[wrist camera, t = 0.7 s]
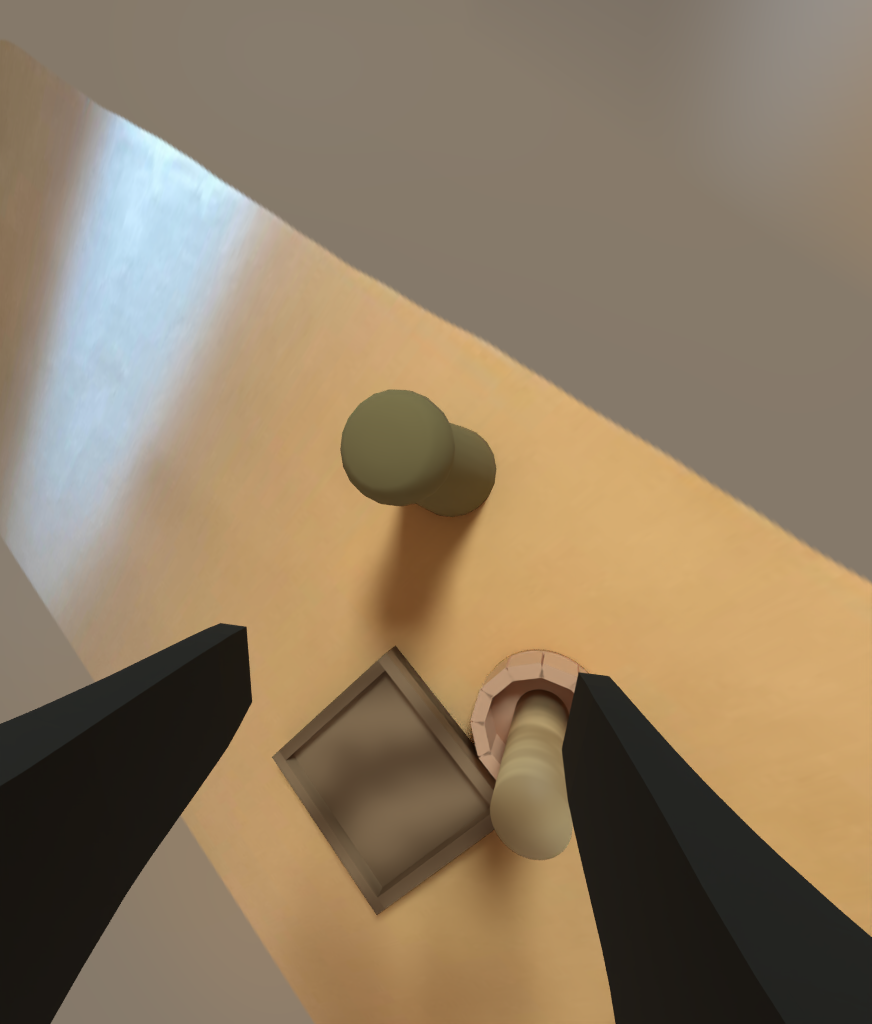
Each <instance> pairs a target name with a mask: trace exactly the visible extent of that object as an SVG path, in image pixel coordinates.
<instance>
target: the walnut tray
mask: <svg viewBox="0 0 872 1024" xmlns="http://www.w3.org/2000/svg"><path fill="white" fill-rule="evenodd" d="M272 758H273V759H274V761H275V762H276V764H277V765H278V767H279V768H280V770H281V771H282V773H283V774H284V776H285V777H286V779H287V780H288V782H289V784H290V785H291V787H292V788H293V790H294V791H295V793H296V794H297V796H298V797H299V799H300V800H301V802H302V803H303V805H304V806H305V808H306V809H307V811H308V812H309V814H310V815H311V817H312V818H313V820H314V821H315V823H316V824H317V826H318V827H319V829H320V830H321V832H322V833H323V835H324V836H325V838H326V839H327V841H328V842H329V844H330V845H331V847H332V848H333V850H334V851H335V853H336V854H337V856H338V857H339V859H340V860H341V862H342V863H343V865H344V866H345V868H346V869H347V871H348V873H349V874H350V876H351V877H352V879H353V880H354V882H355V883H356V885H357V886H358V888H359V889H360V891H361V892H362V894H363V895H364V897H365V898H366V900H367V901H368V903H369V904H370V906H371V907H372V909H373V910H374V912H375V913H376V915H378V914H379V913H381V912H382V911H383V910H385V909H386V908H387V907H389V906H390V905H392V904H393V903H394V902H396V901H397V900H398V899H400V898H401V897H403V896H404V895H405V894H407V893H408V892H409V891H411V890H412V889H414V888H415V887H416V886H418V885H419V884H420V883H422V882H423V881H424V880H426V879H427V878H429V877H430V876H431V875H433V874H434V873H435V872H437V871H438V870H440V869H441V868H442V867H444V866H445V865H446V864H448V863H449V862H451V861H452V860H453V859H455V858H456V857H457V856H459V855H460V854H462V853H463V852H464V851H466V850H467V849H468V848H470V847H471V846H472V845H474V844H475V843H477V842H478V841H479V840H481V839H482V838H483V837H485V836H486V835H488V834H489V833H490V832H492V831H493V830H494V827H493V824H492V821H491V816H490V803H491V799H492V795H493V792H494V788H495V784H496V779H495V778H494V777H493V776H492V774H491V773H490V772H489V771H488V769H487V768H486V767H485V765H484V764H483V763H482V762H481V760H480V759H479V756H478V755H477V750H476V747H475V746H474V744H473V743H472V742H471V741H470V739H469V738H468V737H467V736H466V734H465V733H464V732H463V730H462V729H461V728H460V727H459V725H458V724H457V723H456V722H455V720H454V719H453V718H452V717H451V715H450V714H449V713H448V712H447V710H446V709H445V708H444V706H443V705H442V704H441V703H440V701H439V700H438V699H437V698H436V696H435V695H434V694H433V693H432V691H431V690H430V689H429V688H428V686H427V685H426V684H425V682H424V681H423V680H422V679H421V677H420V676H419V675H418V674H417V672H416V671H415V670H414V669H413V667H412V666H411V665H410V663H409V662H408V661H407V660H406V658H405V657H404V656H403V655H402V653H401V652H400V651H399V650H398V648H397V647H396V646H395V647H393V648H392V649H391V650H389V651H388V652H386V653H385V654H384V655H383V656H382V657H381V658H380V659H379V660H378V661H377V662H375V663H374V664H373V665H372V666H371V667H370V668H369V669H368V670H367V671H366V672H365V673H363V674H362V675H361V676H360V677H359V678H358V679H357V680H356V681H355V682H354V683H352V684H351V685H350V686H349V687H348V688H347V689H346V690H345V691H344V692H343V693H342V694H340V695H339V696H338V697H337V698H336V699H335V700H334V701H333V702H332V703H331V704H329V705H328V706H327V707H326V708H325V709H324V710H323V711H322V712H321V713H320V714H319V715H317V716H316V717H315V718H314V719H313V720H312V721H311V722H310V723H309V724H308V725H307V726H305V727H304V728H303V729H302V730H301V731H300V732H299V733H298V734H297V735H296V736H294V737H293V738H292V739H291V740H290V741H289V742H288V743H287V744H286V745H285V746H284V747H282V748H281V749H280V750H279V751H278V752H277V753H276V754H275V755H274V756H273V757H272Z"/></svg>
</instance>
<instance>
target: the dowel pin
mask: <svg viewBox="0 0 872 1024" xmlns="http://www.w3.org/2000/svg"><path fill="white" fill-rule="evenodd" d="M568 718H569V712H568V709H567V707H566V705H565V704H564V702H563V701H562V700H561V699H560V698H559V697H558V696H557V695H555V694H554V693H552V692H550V691H547V690H543V689H535V690H531V691H528V692H526V693H525V694H523V695H522V696H521V697H520V698H519V700H518V702H517V704H516V708H515V711H514V715H513V719H512V723H511V727H510V730H509V734H508V738H507V742H506V746H505V750H504V753H503V757H502V761H501V765H500V769H499V772H498V776H497V780H496V784H495V788H494V792H493V795H492V799H491V803H490V816H491V821H492V824H493V827H494V829H495V831H496V833H497V835H498V836H499V838H500V839H501V840H502V842H503V843H504V844H505V845H506V846H507V847H508V848H509V849H511V850H512V851H513V852H515V853H517V854H518V855H520V856H523V857H525V858H528V859H533V860H547V859H551V858H553V857H555V856H557V855H559V854H560V853H561V852H563V851H564V849H565V848H566V847H567V845H568V844H569V841H570V839H571V835H572V818H571V813H570V809H569V804H568V798H567V790H566V782H565V774H564V765H563V757H562V745H563V740H564V736H565V731H566V727H567V722H568Z"/></svg>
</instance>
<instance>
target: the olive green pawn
mask: <svg viewBox="0 0 872 1024" xmlns="http://www.w3.org/2000/svg"><path fill="white" fill-rule="evenodd" d="M341 456H342V462H343V467H344V469H345V471H346V473H347V476H348V478H349V480H350V482H351V483H352V484H353V485H354V486H355V487H356V488H357V489H358V490H359V491H360V492H361V493H362V494H363V495H365V496H366V497H368V498H370V499H372V500H374V501H376V502H378V503H380V504H386V505H394V506H405V505H410V504H415V503H416V504H418V505H420V506H422V507H424V508H426V509H427V510H429V511H432V512H434V513H436V514H438V515H442V516H450V517H454V516H459V515H464V514H467V513H469V512H471V511H472V510H474V509H476V508H478V507H479V506H480V505H481V504H482V503H483V502H484V501H485V499H486V498H487V497H488V496H489V494H490V492H491V490H492V487H493V485H494V483H495V475H496V464H495V459H494V454H493V452H492V451H491V449H490V447H489V445H488V444H487V442H486V441H485V440H484V439H483V438H482V437H481V436H479V435H478V434H477V433H476V432H473V431H471V430H469V429H466V428H464V427H461V426H458V425H455V424H452V423H449V422H448V420H447V418H446V416H445V414H444V413H443V412H442V411H441V410H440V409H439V408H438V407H437V406H436V405H435V404H434V403H433V402H432V401H430V400H429V399H428V398H427V397H425V396H422V395H420V394H417V393H415V392H413V391H408V390H386V391H383V392H380V393H376V394H373V395H372V396H371V397H369V398H368V399H366V400H365V401H363V402H362V403H360V404H359V406H358V407H357V408H356V409H355V410H354V412H353V413H352V414H351V415H350V417H349V418H348V420H347V423H346V425H345V428H344V430H343V432H342V441H341Z"/></svg>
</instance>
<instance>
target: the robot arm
mask: <svg viewBox="0 0 872 1024" xmlns="http://www.w3.org/2000/svg"><path fill="white" fill-rule="evenodd" d="M251 703H252V694H251V681H250V667H249V654H248V641H247V628H246V627H244V626H237V625H229V624H222V623H220V624H217V625H215V626H213V627H210V628H208V629H206V630H203V631H201V632H199V633H197V634H195V635H193V636H190V637H188V638H186V639H184V640H182V641H180V642H178V643H176V644H174V645H172V646H170V647H168V648H166V649H164V650H162V651H160V652H158V653H156V654H153V655H151V656H149V657H147V658H145V659H143V660H141V661H139V662H137V663H135V664H133V665H131V666H129V667H127V668H125V669H123V670H121V671H118V672H116V673H114V674H112V675H110V676H108V677H106V678H104V679H102V680H99V681H97V682H95V683H93V684H91V685H89V686H86V687H84V688H82V689H79V690H77V691H75V692H73V693H71V694H68V695H66V696H64V697H62V698H60V699H57V700H55V701H53V702H51V703H49V704H46V705H44V706H42V707H40V708H37V709H35V710H33V711H30V712H28V713H26V714H23V715H21V716H19V717H16V718H14V719H11V720H9V721H6V722H4V723H1V724H0V1024H50V1023H51V1022H52V1020H53V1018H54V1016H55V1015H56V1013H57V1011H58V1009H59V1008H60V1006H61V1004H62V1002H63V1001H64V999H65V997H66V995H67V994H68V992H69V990H70V988H71V987H72V985H73V983H74V981H75V980H76V978H77V976H78V974H79V973H80V971H81V969H82V967H83V966H84V964H85V962H86V961H87V959H88V957H89V956H90V954H91V952H92V950H93V949H94V947H95V946H96V944H97V942H98V941H99V939H100V937H101V936H102V934H103V932H104V931H105V929H106V927H107V926H108V924H109V922H110V920H111V919H112V917H113V915H114V914H115V912H116V910H117V909H118V907H119V905H120V904H121V902H122V900H123V898H124V897H125V895H126V894H127V892H128V891H129V889H130V888H131V886H132V885H133V883H134V882H135V880H136V879H137V877H138V876H139V874H140V872H141V871H142V869H143V868H144V866H145V865H146V863H147V862H148V861H149V859H150V858H151V856H152V855H153V853H154V852H155V851H156V849H157V848H158V846H159V845H160V843H161V842H162V841H163V839H164V838H165V836H166V835H167V834H168V832H169V831H170V829H171V828H172V826H173V825H174V823H175V822H176V821H177V819H178V818H179V816H180V815H181V814H182V812H183V811H184V809H185V808H186V807H187V805H188V804H189V802H190V801H191V799H192V798H193V797H194V795H195V794H196V792H197V791H198V790H199V788H200V787H201V785H202V784H203V782H204V781H205V779H206V778H207V777H208V775H209V774H210V772H211V771H212V769H213V768H214V766H215V765H216V764H217V762H218V761H219V759H220V758H221V756H222V755H223V753H224V752H225V750H226V749H227V747H228V746H229V744H230V742H231V740H232V739H233V737H234V735H235V733H236V731H237V730H238V728H239V726H240V724H241V722H242V720H243V718H244V716H245V714H246V713H247V711H248V709H249V707H250V705H251ZM562 757H563V765H564V774H565V782H566V790H567V798H568V804H569V809H570V813H571V818H572V822H573V827H574V831H575V835H576V840H577V844H578V848H579V853H580V857H581V861H582V866H583V870H584V874H585V878H586V883H587V887H588V891H589V895H590V900H591V904H592V908H593V913H594V917H595V921H596V925H597V930H598V934H599V938H600V942H601V947H602V951H603V956H604V961H605V966H606V971H607V976H608V981H609V986H610V991H611V998H612V1004H613V1010H614V1016H615V1023H616V1024H872V937H871V936H870V935H868V934H867V933H866V932H865V931H864V930H863V929H861V928H860V927H859V926H858V925H857V924H856V923H854V922H853V921H852V920H851V919H850V918H849V917H848V916H846V915H845V914H844V913H843V912H842V911H841V910H839V909H838V908H837V907H836V906H835V905H834V904H833V903H831V902H830V901H829V900H828V899H827V898H826V897H825V896H824V895H823V894H821V893H820V892H819V891H818V890H817V889H816V888H815V887H814V886H813V885H812V884H810V883H809V882H808V881H807V880H806V879H805V878H804V877H803V876H802V875H800V874H799V873H798V872H797V871H796V870H795V869H794V868H793V867H792V866H790V865H789V864H788V863H787V862H786V861H785V860H784V859H783V858H782V857H781V856H779V855H778V854H777V853H776V852H775V851H774V850H773V849H772V848H771V847H770V846H769V845H768V844H767V843H766V842H765V841H764V840H762V839H761V838H760V837H759V836H758V835H757V834H756V833H755V832H754V831H753V830H752V829H751V828H750V827H749V826H748V825H747V824H746V823H745V822H744V821H743V820H742V819H741V818H740V817H739V816H738V815H737V814H736V813H735V812H734V811H733V810H732V809H731V808H730V807H729V806H728V805H727V804H726V803H725V802H724V801H723V800H722V799H721V798H720V797H719V796H718V795H717V794H716V793H715V792H714V791H713V790H712V789H711V788H710V787H709V786H708V785H707V784H706V783H705V782H704V781H703V780H702V779H701V778H700V776H699V775H698V774H697V773H696V772H695V771H694V770H693V769H692V768H691V767H690V766H689V765H688V764H687V763H686V762H685V761H684V760H683V758H682V757H681V756H680V755H679V754H678V753H677V752H676V751H675V750H674V749H673V748H672V746H671V745H670V744H669V743H668V742H667V741H666V740H665V739H664V738H663V737H662V735H661V734H660V733H659V732H658V731H657V730H656V729H655V728H654V726H653V725H652V724H651V723H650V722H649V721H648V720H647V719H646V717H645V716H644V715H643V714H642V713H641V712H640V711H639V709H638V708H637V707H636V706H635V705H634V704H633V703H632V701H631V700H630V699H629V698H628V697H627V696H626V695H625V694H624V692H623V691H622V690H621V689H620V688H619V687H618V686H617V684H616V683H615V682H614V681H613V680H612V679H611V678H610V677H609V676H603V675H596V674H588V673H581V672H579V673H578V677H577V682H576V686H575V691H574V695H573V700H572V704H571V709H570V713H569V718H568V722H567V727H566V731H565V736H564V740H563V745H562Z"/></svg>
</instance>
